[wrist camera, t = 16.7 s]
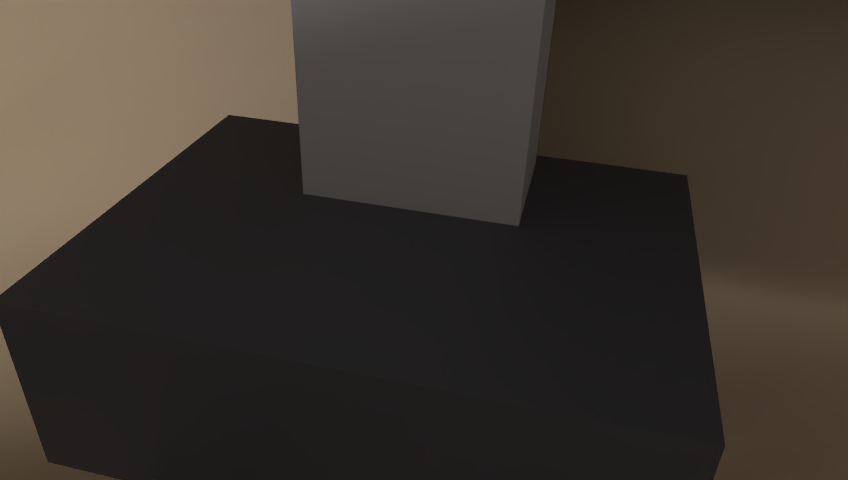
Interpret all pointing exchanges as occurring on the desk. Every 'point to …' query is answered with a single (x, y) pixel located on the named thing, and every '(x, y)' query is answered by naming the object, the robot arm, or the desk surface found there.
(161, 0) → the desk surface
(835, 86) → the desk surface
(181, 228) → the sliding jaw
